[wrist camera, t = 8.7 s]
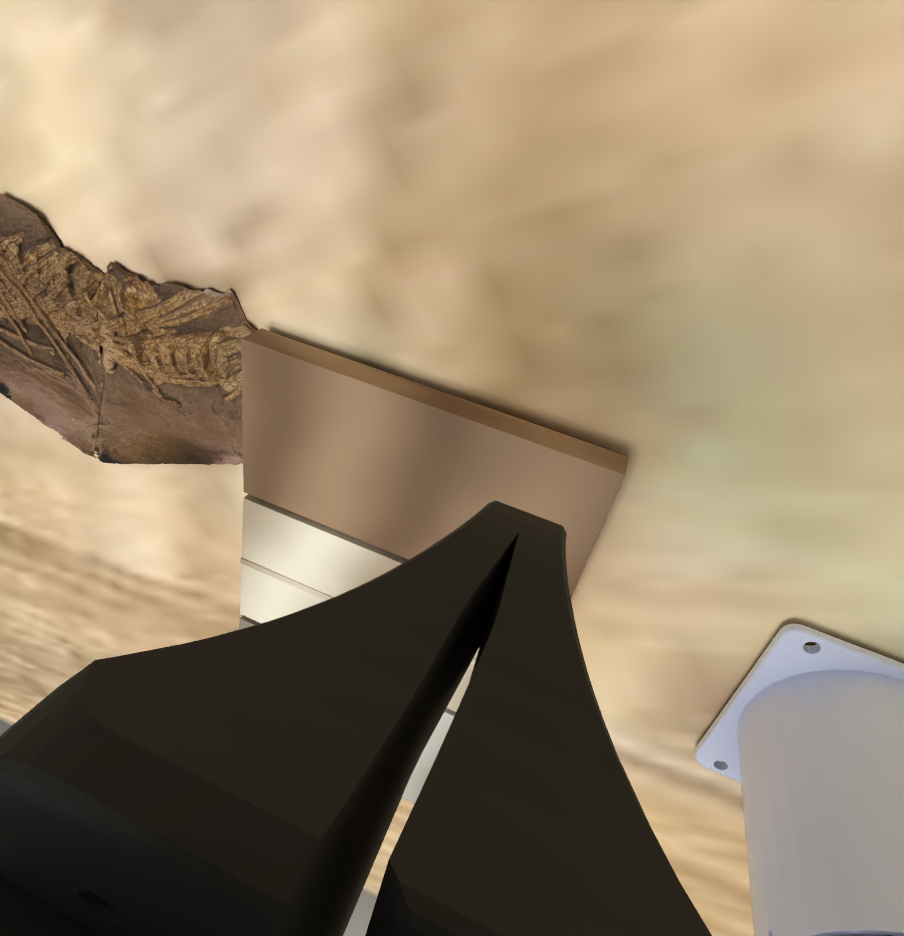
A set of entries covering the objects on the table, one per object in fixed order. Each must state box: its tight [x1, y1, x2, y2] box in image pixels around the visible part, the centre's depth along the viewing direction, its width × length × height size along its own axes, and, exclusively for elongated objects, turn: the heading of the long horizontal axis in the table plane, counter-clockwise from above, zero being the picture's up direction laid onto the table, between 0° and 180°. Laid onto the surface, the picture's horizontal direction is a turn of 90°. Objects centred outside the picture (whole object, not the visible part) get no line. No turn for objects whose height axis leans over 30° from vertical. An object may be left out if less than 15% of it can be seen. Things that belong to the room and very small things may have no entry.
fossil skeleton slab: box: [0, 194, 257, 465], centre depth 26 cm, size 26×11×1 cm, turn 73°
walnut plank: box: [241, 329, 629, 597], centre depth 22 cm, size 14×7×1 cm, turn 78°
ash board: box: [240, 494, 479, 712], centre depth 26 cm, size 14×7×1 cm, turn 78°
